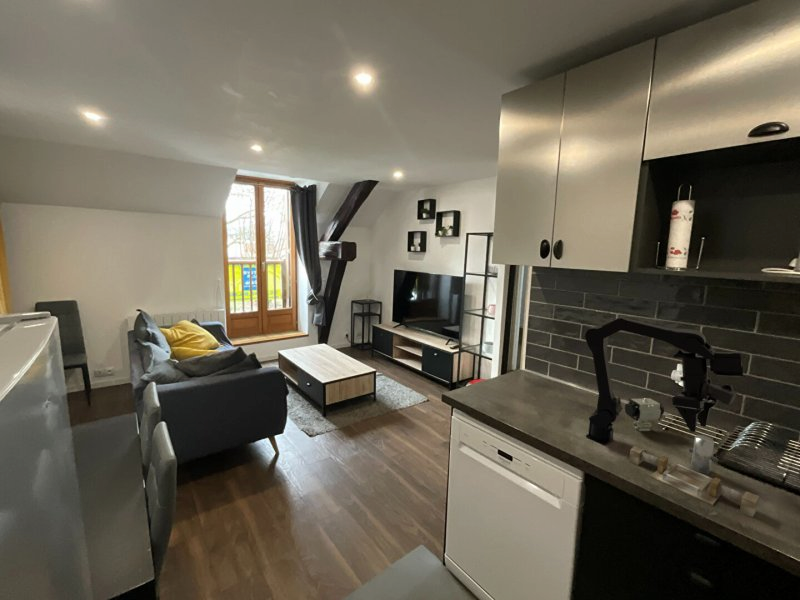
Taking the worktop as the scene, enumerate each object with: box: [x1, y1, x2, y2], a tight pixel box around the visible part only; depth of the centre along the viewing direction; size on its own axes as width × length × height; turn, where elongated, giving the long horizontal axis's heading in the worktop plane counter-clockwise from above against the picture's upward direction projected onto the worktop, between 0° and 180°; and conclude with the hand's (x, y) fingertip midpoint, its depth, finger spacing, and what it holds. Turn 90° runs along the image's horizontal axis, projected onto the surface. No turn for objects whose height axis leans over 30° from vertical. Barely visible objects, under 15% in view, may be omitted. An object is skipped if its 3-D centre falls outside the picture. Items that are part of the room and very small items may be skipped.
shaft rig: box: [628, 445, 760, 518], centre depth 100 cm, size 28×10×4 cm, turn 35°
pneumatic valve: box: [624, 397, 665, 432], centre depth 129 cm, size 6×12×12 cm, turn 94°
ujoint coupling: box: [688, 434, 719, 476], centre depth 106 cm, size 7×4×10 cm
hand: (698, 428), depth 103 cm, fingers open, 9 cm apart
